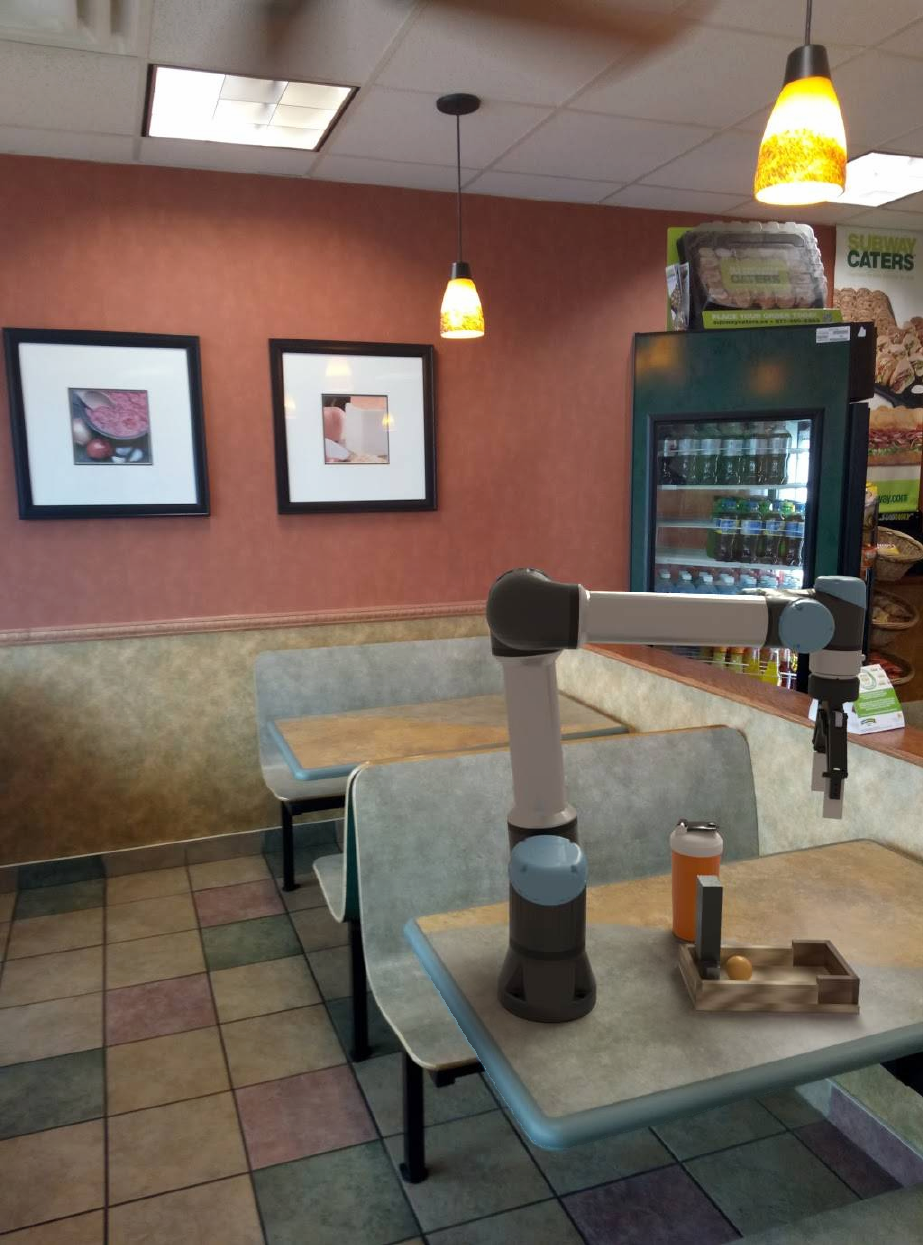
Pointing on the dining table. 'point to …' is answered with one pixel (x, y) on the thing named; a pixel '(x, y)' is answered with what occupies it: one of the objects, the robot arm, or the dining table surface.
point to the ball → (739, 968)
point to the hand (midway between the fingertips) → (825, 804)
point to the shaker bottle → (691, 869)
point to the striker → (708, 927)
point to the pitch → (776, 979)
